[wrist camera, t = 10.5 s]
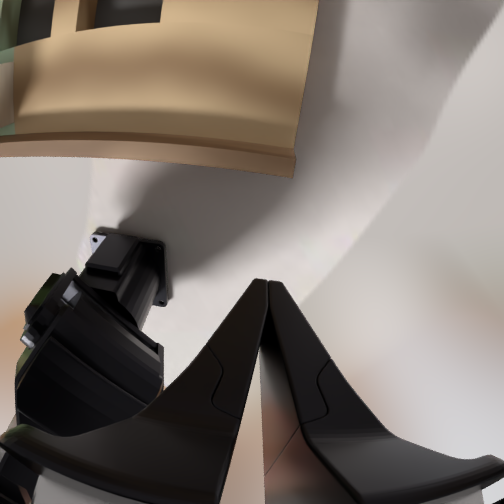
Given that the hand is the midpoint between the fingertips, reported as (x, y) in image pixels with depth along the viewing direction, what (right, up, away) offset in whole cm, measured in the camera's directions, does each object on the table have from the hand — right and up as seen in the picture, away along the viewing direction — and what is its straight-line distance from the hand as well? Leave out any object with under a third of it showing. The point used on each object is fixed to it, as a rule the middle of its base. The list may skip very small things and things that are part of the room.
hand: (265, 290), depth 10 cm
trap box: (-9, +15, +5) cm, 18 cm away
